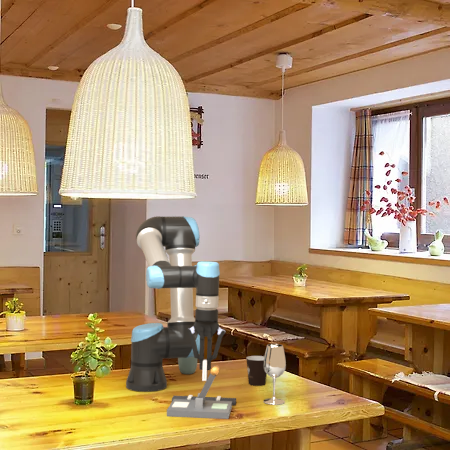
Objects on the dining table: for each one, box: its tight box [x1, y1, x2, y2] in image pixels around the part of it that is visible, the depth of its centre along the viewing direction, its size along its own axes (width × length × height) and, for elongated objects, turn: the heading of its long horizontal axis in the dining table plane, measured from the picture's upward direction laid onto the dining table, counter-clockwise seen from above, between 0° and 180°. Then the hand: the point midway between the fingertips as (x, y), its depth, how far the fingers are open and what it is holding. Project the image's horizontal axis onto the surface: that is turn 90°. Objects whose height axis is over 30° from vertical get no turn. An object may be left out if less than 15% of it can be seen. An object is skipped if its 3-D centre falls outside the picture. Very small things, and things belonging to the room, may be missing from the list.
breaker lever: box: [197, 364, 221, 400], centre depth 249 cm, size 3×4×13 cm, turn 175°
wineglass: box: [262, 343, 287, 406], centre depth 263 cm, size 8×8×20 cm
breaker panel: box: [166, 392, 233, 420], centre depth 249 cm, size 20×14×5 cm
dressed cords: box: [171, 394, 237, 406], centre depth 260 cm, size 22×5×2 cm, turn 85°
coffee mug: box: [245, 355, 267, 387], centre depth 291 cm, size 12×9×10 cm
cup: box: [177, 357, 199, 375], centre depth 305 cm, size 8×8×10 cm
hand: (204, 379), depth 248 cm, fingers closed
